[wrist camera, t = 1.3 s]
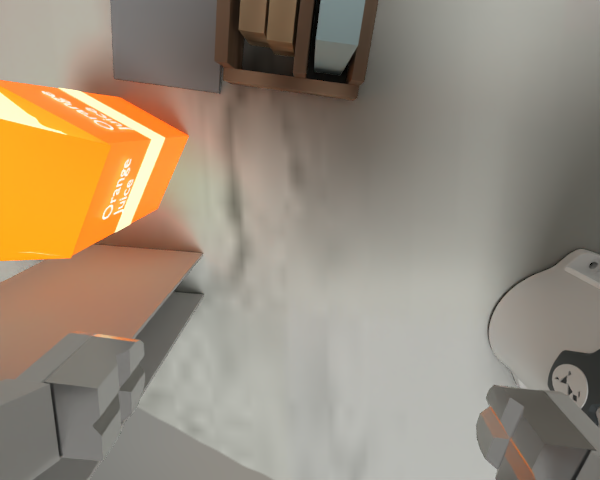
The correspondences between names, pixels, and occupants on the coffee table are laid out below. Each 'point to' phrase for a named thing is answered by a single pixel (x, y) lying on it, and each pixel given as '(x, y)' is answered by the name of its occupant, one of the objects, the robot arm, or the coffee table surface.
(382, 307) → the coffee table surface
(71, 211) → the orange juice
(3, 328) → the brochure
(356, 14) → the light blue slab
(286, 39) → the offcut
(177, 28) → the mat
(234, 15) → the rack
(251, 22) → the offcut
